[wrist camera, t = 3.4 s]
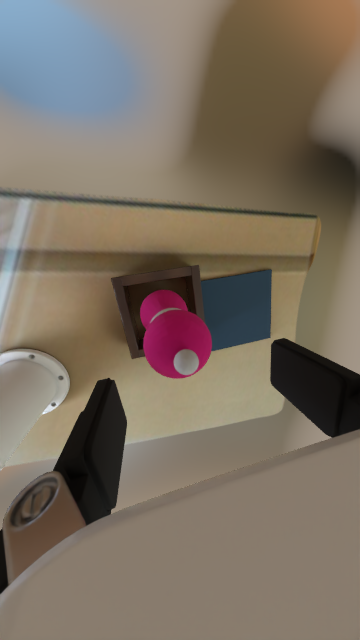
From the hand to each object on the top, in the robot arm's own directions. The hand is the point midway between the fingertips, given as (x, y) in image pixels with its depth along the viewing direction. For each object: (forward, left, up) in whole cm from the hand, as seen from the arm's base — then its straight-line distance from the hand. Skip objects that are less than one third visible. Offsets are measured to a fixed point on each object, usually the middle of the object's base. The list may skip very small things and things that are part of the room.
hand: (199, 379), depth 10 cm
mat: (+14, -4, -21) cm, 26 cm away
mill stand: (0, 0, -21) cm, 21 cm away
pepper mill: (0, 0, -22) cm, 22 cm away
